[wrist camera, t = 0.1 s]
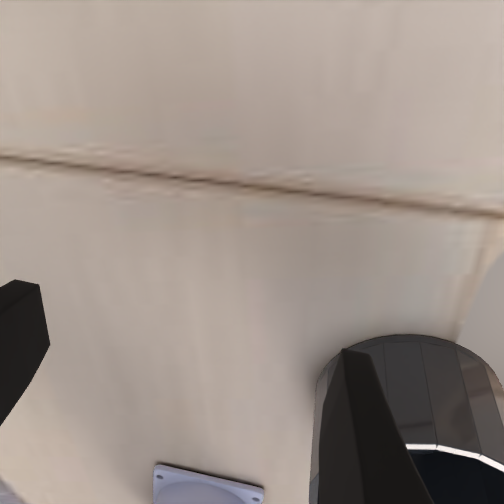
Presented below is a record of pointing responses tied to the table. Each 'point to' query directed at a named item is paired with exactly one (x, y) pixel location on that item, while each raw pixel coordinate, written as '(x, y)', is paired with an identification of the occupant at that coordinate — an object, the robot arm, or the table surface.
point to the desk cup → (435, 415)
